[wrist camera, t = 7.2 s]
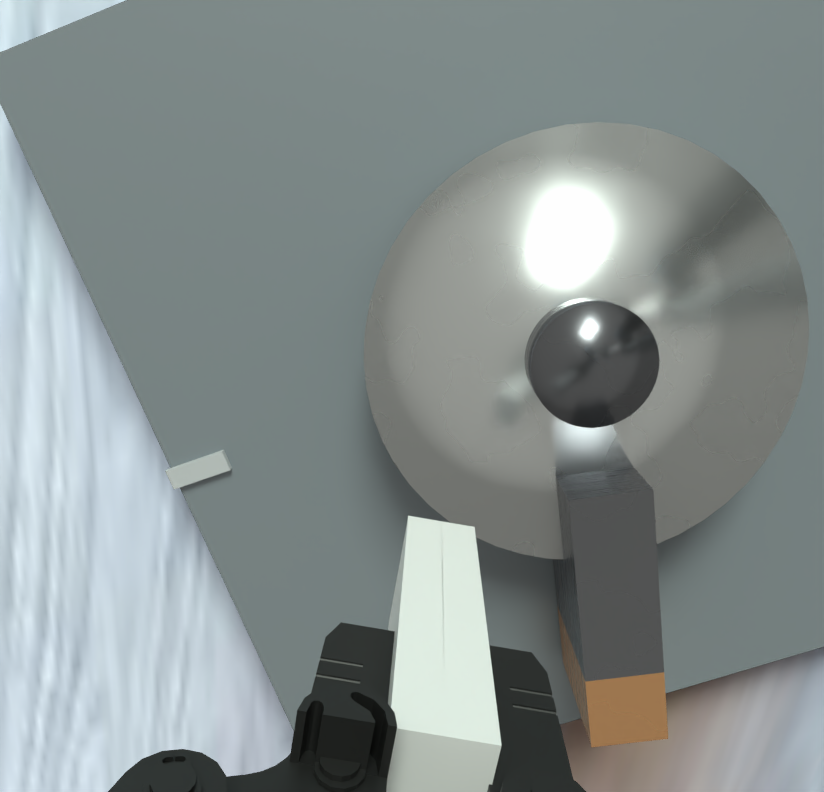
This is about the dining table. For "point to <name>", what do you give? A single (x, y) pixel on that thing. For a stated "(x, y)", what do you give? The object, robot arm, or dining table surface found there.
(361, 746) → the robot arm
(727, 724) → the dining table surface
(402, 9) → the dial board
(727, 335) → the dial
